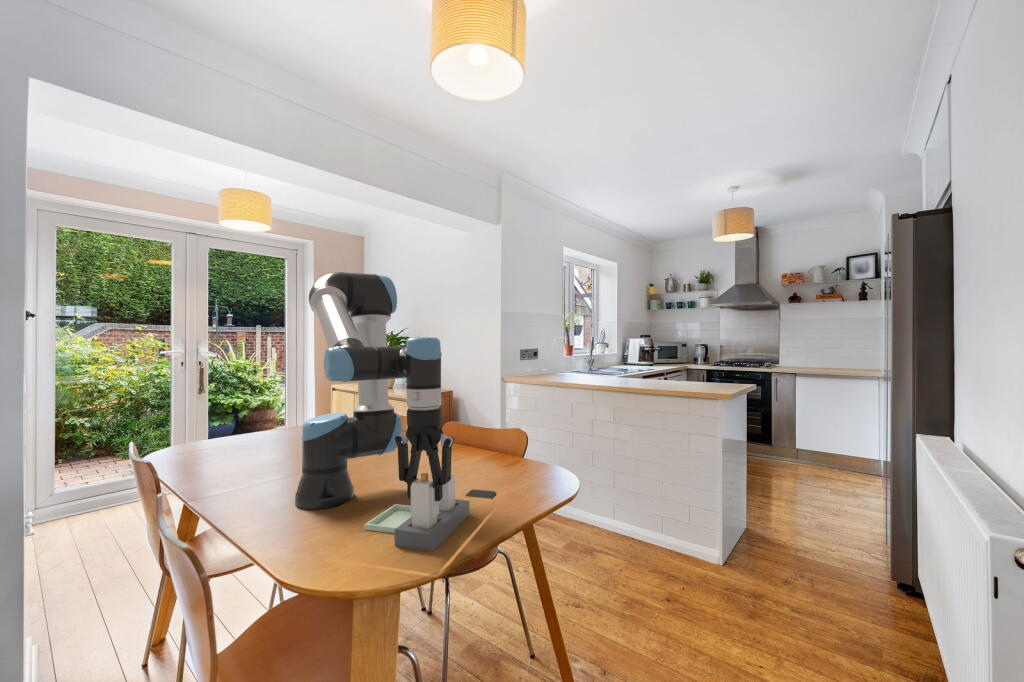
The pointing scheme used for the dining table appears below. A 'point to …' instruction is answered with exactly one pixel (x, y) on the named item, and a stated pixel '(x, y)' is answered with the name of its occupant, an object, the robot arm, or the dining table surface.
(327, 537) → the dining table surface
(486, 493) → the smartphone
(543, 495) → the dining table surface
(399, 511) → the tray
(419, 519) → the plug
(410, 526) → the gray block holder
